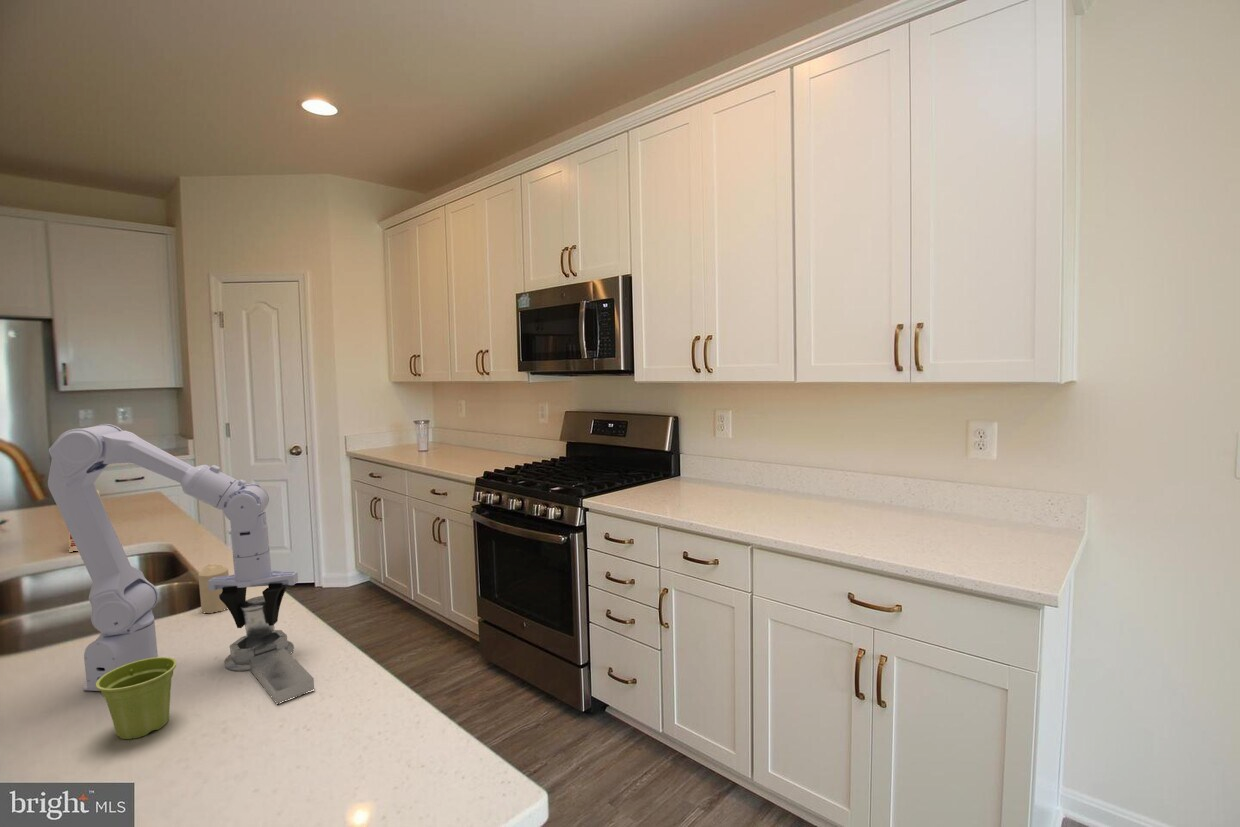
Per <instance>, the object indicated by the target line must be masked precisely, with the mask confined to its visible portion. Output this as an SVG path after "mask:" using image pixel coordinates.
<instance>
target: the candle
mask: <svg viewBox="0 0 1240 827" xmlns="http://www.w3.org/2000/svg"><path fill="white" fill-rule="evenodd" d="M197 574H198V575H197V576H198V587H199V597H200V599H199V600H200V607H201V612H205V613H211V614H214V613H213V612H217V611H221V610H224V609H227V606H226V605H225V604H224V603H223V602H222V601H221V600H220V598H219V595H220V594H221V593H222V591H223V590H222V589H217V590H215V591H209V585H208V581H209V580H210V579H212V578H214V577H221V576H228V575H230V574H229V568H228V567H227V566H224V565H222V564H207V565H205V566H204V567H203V568H202V569H201V571H200V572H199V573H197ZM227 610H228V609H227ZM224 611H225V610H224ZM221 612H222V611H221ZM205 613H204V614H205ZM217 613H218V612H217Z"/></svg>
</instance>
